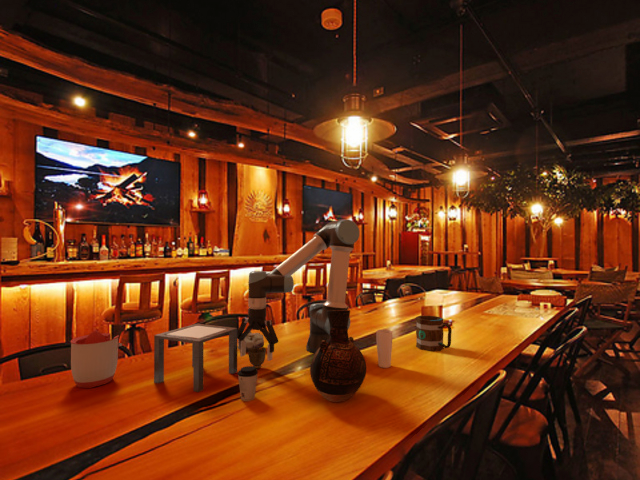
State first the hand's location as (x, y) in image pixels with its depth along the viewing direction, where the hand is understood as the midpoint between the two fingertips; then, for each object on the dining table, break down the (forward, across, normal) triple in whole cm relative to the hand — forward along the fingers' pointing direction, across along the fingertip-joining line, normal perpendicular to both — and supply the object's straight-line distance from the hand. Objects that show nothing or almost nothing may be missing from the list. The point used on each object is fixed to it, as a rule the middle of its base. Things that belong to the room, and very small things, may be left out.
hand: (256, 357), depth 148 cm
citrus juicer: (+6, -48, -37) cm, 60 cm away
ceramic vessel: (+4, +42, -13) cm, 44 cm away
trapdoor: (-12, -16, -18) cm, 27 cm away
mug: (+3, +66, +59) cm, 89 cm away
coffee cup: (+5, +14, -26) cm, 30 cm away
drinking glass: (+4, +49, +24) cm, 55 cm away
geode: (+5, -20, +23) cm, 31 cm away
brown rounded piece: (+5, 0, 0) cm, 5 cm away
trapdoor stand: (+5, -16, -18) cm, 24 cm away
